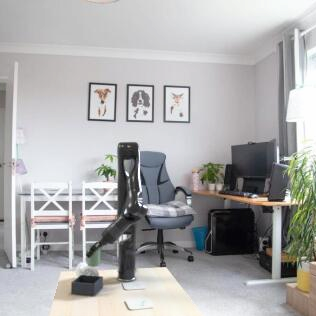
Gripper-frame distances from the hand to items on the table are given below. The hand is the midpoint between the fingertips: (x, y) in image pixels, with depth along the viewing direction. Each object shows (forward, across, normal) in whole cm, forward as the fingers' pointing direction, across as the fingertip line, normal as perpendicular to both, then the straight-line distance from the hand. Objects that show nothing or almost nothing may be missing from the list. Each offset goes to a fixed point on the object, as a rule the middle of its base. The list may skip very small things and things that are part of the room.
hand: (90, 254), depth 168 cm
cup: (+2, 0, +5) cm, 5 cm away
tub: (+14, -1, +11) cm, 18 cm away
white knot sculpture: (+20, -16, +6) cm, 26 cm away
